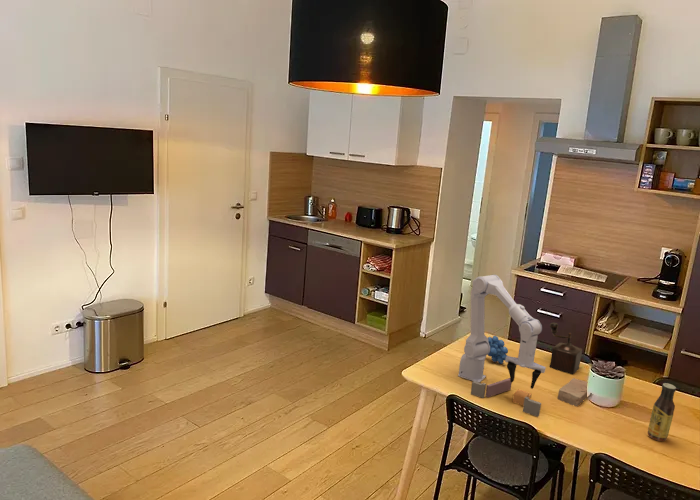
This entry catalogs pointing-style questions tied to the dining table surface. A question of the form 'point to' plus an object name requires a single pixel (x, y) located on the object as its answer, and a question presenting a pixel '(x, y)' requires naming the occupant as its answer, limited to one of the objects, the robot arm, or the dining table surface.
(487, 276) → the robot arm
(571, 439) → the dining table surface
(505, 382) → the door
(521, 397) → the orange brown block
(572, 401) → the brick
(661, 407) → the sauce bottle
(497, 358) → the grapes
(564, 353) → the manual coffee grinder
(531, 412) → the wall frame
